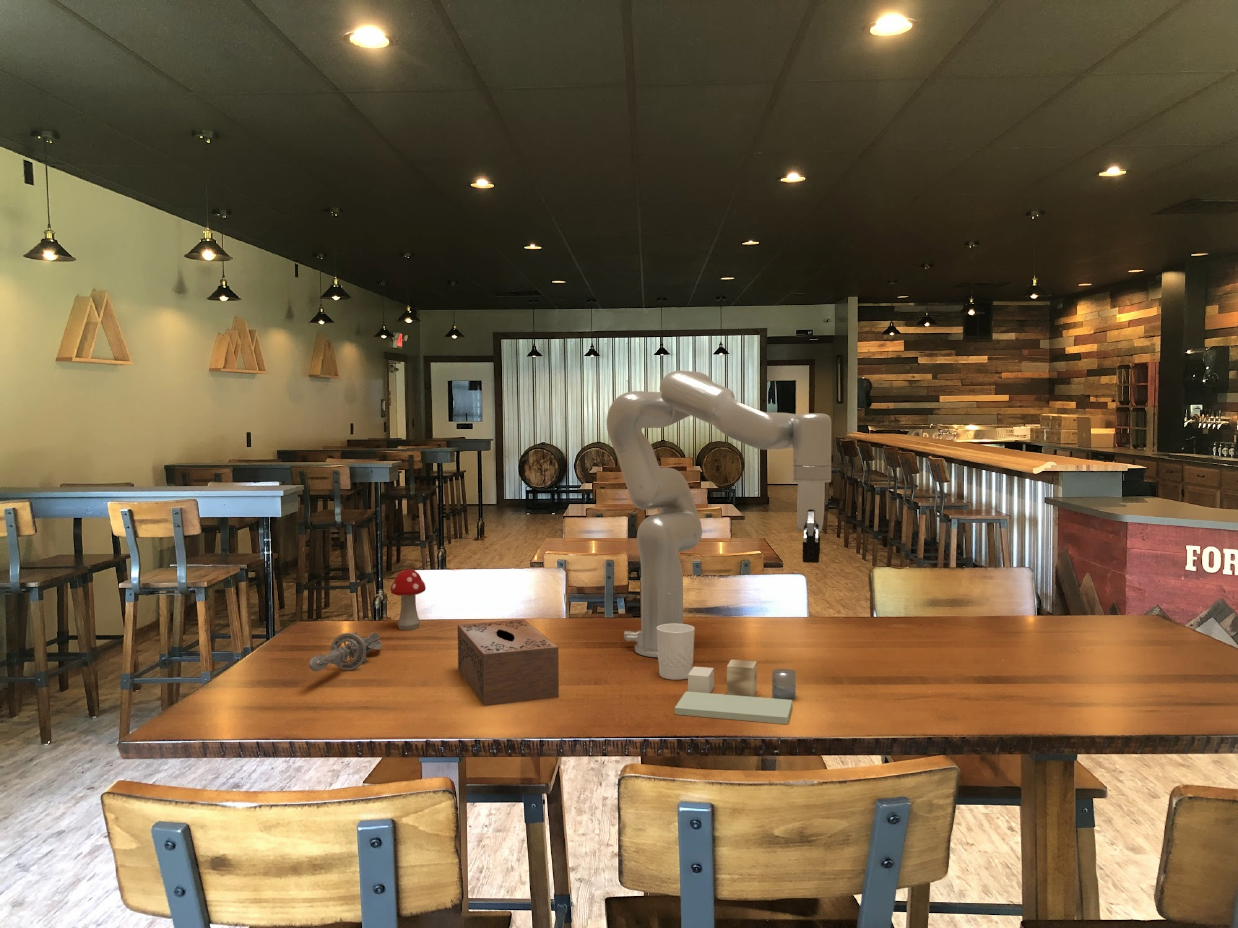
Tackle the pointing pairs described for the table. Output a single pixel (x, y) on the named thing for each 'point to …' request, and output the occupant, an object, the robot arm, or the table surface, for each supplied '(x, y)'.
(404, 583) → the decorative mushroom
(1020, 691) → the table surface
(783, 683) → the metal cylinder
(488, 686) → the tissue box cover
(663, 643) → the white cup
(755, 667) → the maple block
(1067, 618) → the table surface
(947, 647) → the table surface
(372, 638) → the spaceship
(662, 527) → the robot arm
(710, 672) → the white block
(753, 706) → the sage board
